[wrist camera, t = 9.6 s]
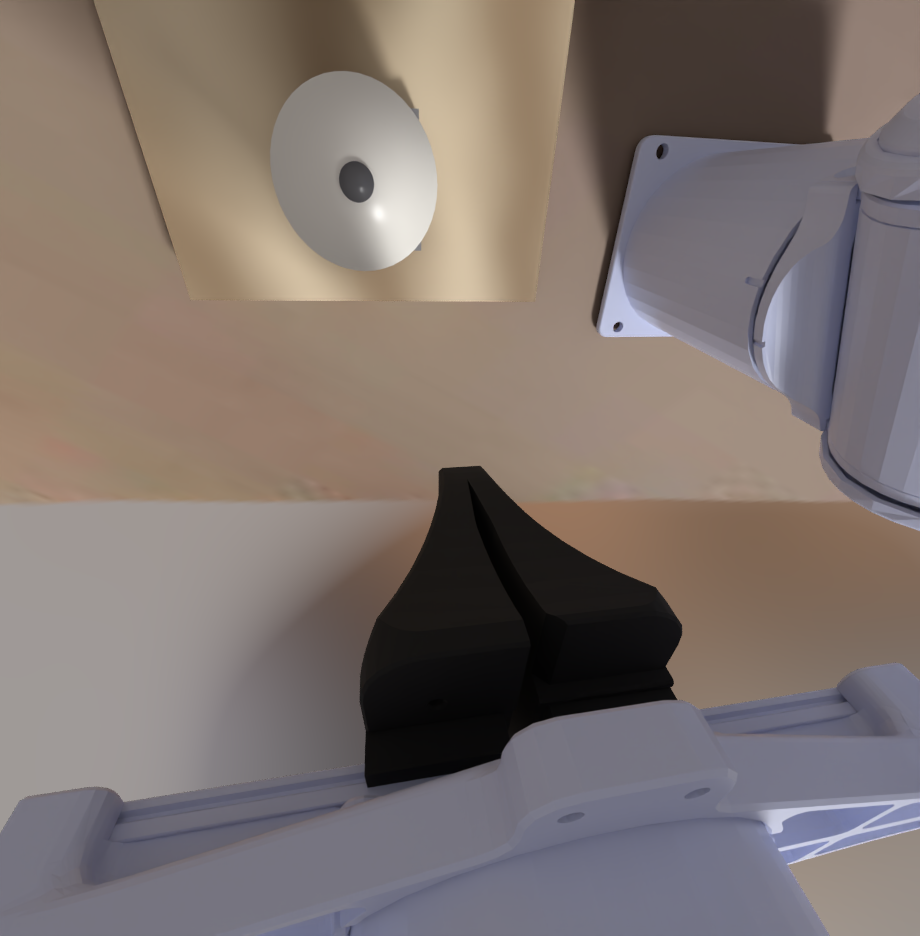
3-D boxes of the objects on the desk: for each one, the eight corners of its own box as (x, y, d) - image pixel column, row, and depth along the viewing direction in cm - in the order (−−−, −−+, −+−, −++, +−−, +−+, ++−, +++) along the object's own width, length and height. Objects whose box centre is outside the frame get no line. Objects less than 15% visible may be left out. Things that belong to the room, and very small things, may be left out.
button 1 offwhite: (431, 91, 13) (438, 77, 11) (432, 263, 15) (437, 272, 14) (269, 79, 12) (249, 62, 10) (300, 260, 15) (288, 270, 13)
